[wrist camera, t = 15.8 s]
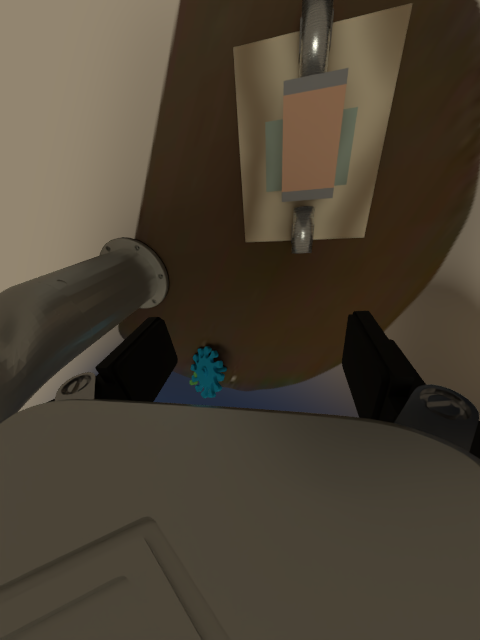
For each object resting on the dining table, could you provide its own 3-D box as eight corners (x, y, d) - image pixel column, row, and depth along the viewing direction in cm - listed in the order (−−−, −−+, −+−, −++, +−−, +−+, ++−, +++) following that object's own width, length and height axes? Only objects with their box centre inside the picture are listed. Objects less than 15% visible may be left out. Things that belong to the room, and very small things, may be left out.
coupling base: (247, 240, 31) (243, 245, 28) (236, 55, 22) (228, 36, 19) (360, 235, 28) (368, 240, 25) (404, 15, 18) (423, -15, 16)
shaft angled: (291, 251, 29) (291, 258, 26) (293, 205, 26) (293, 207, 23) (310, 250, 28) (312, 257, 25) (314, 203, 25) (316, 206, 22)
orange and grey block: (286, 109, 22) (283, 81, 16) (333, 101, 21) (348, 67, 15) (284, 198, 26) (281, 202, 20) (323, 195, 25) (332, 197, 19)
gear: (210, 338, 40) (224, 392, 37) (233, 338, 44) (247, 386, 41) (182, 358, 47) (191, 405, 43) (204, 357, 51) (214, 399, 47)
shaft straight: (298, 91, 21) (299, 81, 19) (302, 9, 18) (303, -13, 16) (324, 86, 20) (328, 75, 18) (332, 0, 18) (337, -23, 16)
